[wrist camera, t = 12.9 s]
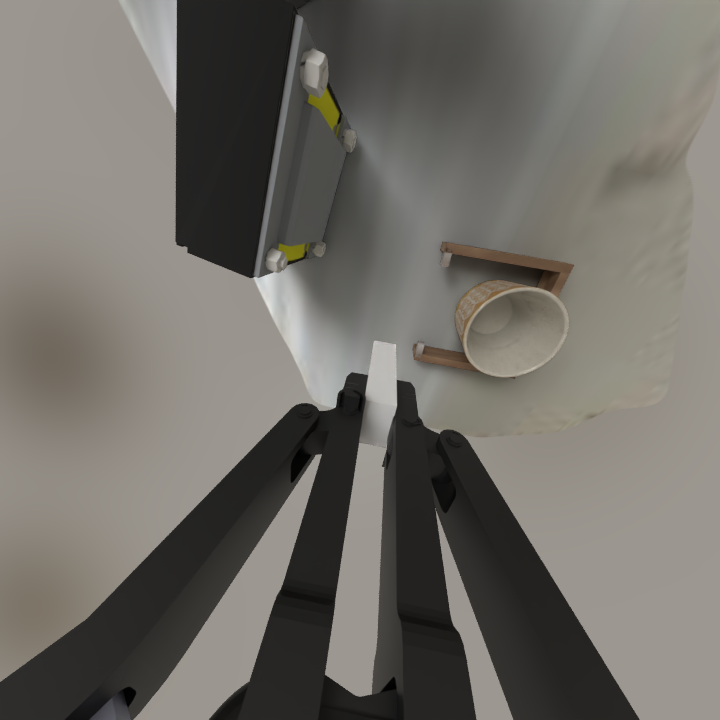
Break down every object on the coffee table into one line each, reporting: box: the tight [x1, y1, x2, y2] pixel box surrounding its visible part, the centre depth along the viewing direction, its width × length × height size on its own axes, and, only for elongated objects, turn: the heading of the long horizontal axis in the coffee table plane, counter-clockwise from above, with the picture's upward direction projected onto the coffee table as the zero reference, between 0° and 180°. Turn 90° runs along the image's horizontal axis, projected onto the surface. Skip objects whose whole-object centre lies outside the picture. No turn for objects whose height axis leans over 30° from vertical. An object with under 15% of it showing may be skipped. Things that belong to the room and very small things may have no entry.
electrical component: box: [176, 0, 357, 278], centre depth 28 cm, size 18×10×20 cm, turn 160°
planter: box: [455, 280, 569, 377], centre depth 38 cm, size 13×13×10 cm
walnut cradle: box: [413, 242, 574, 379], centre depth 41 cm, size 18×17×4 cm
